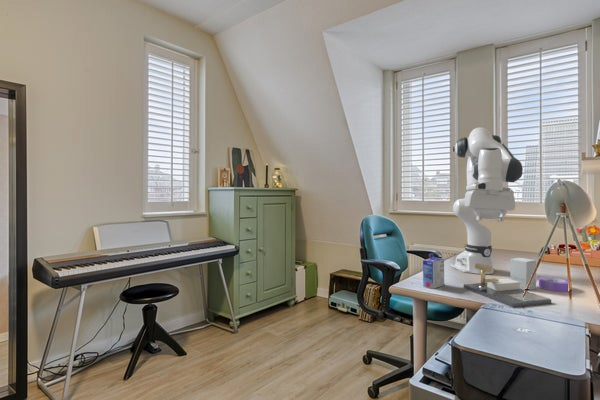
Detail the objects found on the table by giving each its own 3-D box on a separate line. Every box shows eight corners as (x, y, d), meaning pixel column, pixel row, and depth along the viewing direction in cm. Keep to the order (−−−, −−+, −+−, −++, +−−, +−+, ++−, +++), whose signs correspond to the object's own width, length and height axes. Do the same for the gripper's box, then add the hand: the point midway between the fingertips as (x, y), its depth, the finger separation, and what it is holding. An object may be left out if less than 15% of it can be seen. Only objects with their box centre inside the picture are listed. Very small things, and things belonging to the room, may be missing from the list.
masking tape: (535, 288, 153) (536, 279, 153) (541, 283, 161) (541, 275, 161) (568, 294, 144) (569, 285, 144) (573, 288, 153) (573, 280, 152)
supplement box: (536, 288, 152) (537, 260, 151) (526, 290, 148) (526, 261, 148) (519, 284, 158) (520, 257, 158) (509, 286, 155) (510, 258, 155)
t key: (474, 283, 148) (475, 263, 147) (490, 282, 150) (490, 262, 149) (487, 288, 141) (487, 267, 141) (503, 286, 143) (503, 266, 143)
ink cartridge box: (433, 282, 161) (433, 251, 161) (444, 285, 157) (445, 253, 157) (422, 286, 155) (422, 254, 155) (433, 289, 151) (433, 256, 150)
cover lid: (487, 287, 149) (487, 280, 149) (508, 285, 151) (508, 278, 151) (498, 291, 143) (498, 283, 143) (519, 289, 146) (520, 282, 146)
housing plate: (463, 287, 153) (463, 281, 153) (498, 284, 157) (498, 278, 157) (512, 307, 128) (512, 299, 128) (552, 303, 132) (552, 295, 132)
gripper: (507, 188, 144) (507, 221, 143) (462, 186, 142) (462, 219, 141) (519, 187, 138) (519, 221, 137) (472, 184, 135) (471, 219, 134)
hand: (489, 220), depth 139 cm, fingers open, 8 cm apart
